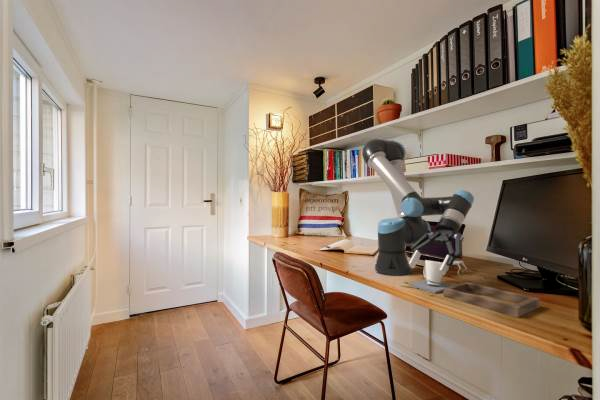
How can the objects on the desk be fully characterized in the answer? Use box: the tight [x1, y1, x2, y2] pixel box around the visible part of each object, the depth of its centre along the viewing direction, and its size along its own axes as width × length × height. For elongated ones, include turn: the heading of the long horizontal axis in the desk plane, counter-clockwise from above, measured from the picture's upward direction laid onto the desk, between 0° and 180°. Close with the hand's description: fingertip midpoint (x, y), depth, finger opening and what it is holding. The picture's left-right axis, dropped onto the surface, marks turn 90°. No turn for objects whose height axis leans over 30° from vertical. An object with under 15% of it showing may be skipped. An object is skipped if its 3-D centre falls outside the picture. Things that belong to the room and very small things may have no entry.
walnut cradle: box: [443, 281, 540, 318], centre depth 89 cm, size 21×13×2 cm, turn 31°
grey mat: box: [407, 279, 454, 294], centre depth 104 cm, size 11×11×1 cm
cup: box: [422, 259, 444, 286], centre depth 106 cm, size 7×10×8 cm
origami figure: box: [447, 260, 468, 275], centre depth 123 cm, size 12×8×5 cm
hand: (425, 269), depth 103 cm, fingers open, 12 cm apart
